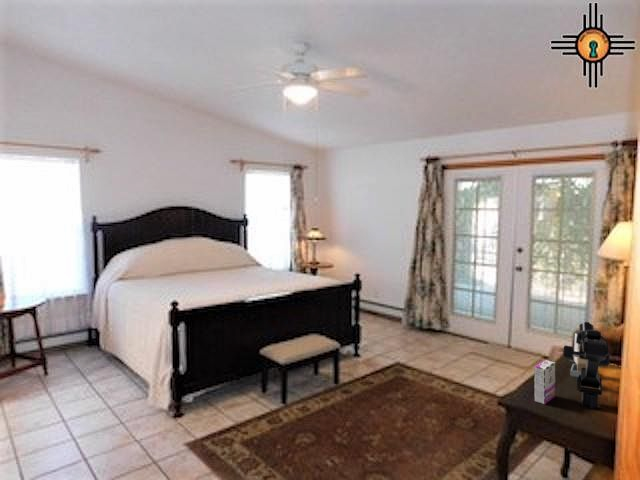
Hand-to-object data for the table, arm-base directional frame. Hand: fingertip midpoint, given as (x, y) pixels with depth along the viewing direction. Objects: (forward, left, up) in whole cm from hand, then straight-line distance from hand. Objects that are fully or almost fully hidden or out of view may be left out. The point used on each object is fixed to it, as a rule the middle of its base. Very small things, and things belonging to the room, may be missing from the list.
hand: (584, 363), depth 210 cm
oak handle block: (+7, -4, -8) cm, 12 cm away
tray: (+7, -4, -9) cm, 12 cm away
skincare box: (+22, -13, -9) cm, 27 cm away
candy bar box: (-17, +28, -9) cm, 34 cm away
